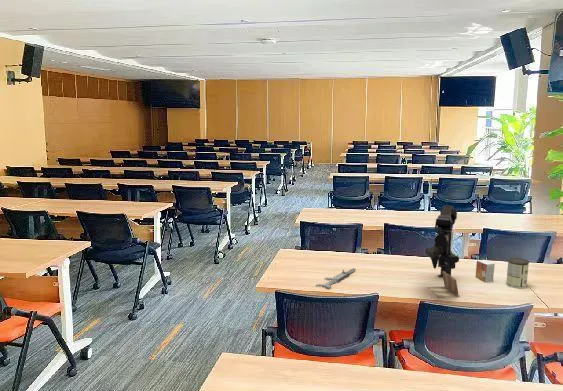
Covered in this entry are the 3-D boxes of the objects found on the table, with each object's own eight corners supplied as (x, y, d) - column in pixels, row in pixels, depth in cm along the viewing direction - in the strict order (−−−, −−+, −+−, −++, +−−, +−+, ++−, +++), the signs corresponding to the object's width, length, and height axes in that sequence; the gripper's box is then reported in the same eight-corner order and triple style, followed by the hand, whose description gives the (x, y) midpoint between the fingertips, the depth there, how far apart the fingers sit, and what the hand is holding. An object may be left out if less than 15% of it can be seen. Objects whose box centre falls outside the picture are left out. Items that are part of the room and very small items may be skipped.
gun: (343, 264, 293) (358, 265, 288) (344, 270, 294) (359, 271, 288) (312, 282, 264) (329, 284, 258) (313, 288, 264) (329, 290, 259)
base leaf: (427, 289, 259) (427, 286, 259) (447, 288, 261) (447, 285, 260) (438, 299, 246) (439, 295, 245) (459, 298, 247) (459, 295, 247)
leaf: (447, 288, 261) (444, 288, 260) (444, 270, 259) (441, 271, 259) (459, 297, 247) (456, 298, 247) (456, 279, 245) (453, 280, 245)
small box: (475, 278, 277) (476, 260, 276) (482, 277, 279) (484, 259, 277) (485, 282, 270) (486, 264, 268) (493, 281, 272) (494, 263, 270)
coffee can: (507, 280, 273) (509, 256, 271) (527, 284, 268) (529, 259, 266) (504, 286, 265) (506, 261, 262) (525, 289, 259) (528, 264, 257)
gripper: (417, 238, 252) (416, 267, 255) (442, 247, 235) (440, 278, 238) (435, 236, 256) (433, 265, 259) (460, 245, 240) (458, 275, 242)
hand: (440, 271), depth 249 cm, fingers open, 9 cm apart
